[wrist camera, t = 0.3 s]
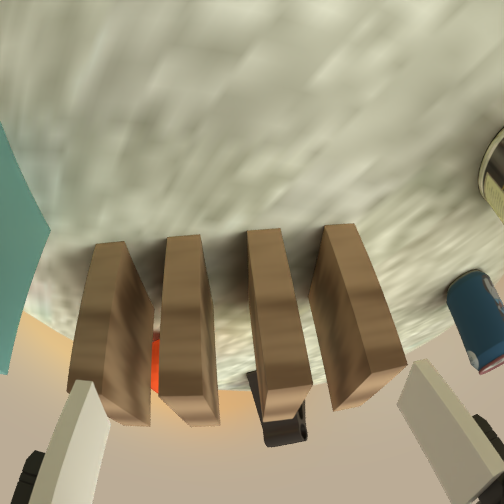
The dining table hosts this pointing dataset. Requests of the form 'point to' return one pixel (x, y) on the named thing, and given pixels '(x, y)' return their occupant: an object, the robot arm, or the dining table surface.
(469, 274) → the soda can
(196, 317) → the walnut domino
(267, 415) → the walnut domino
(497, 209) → the coffee can
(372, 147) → the dining table surface
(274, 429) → the phone stand
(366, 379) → the walnut domino
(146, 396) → the walnut domino
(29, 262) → the teal domino
